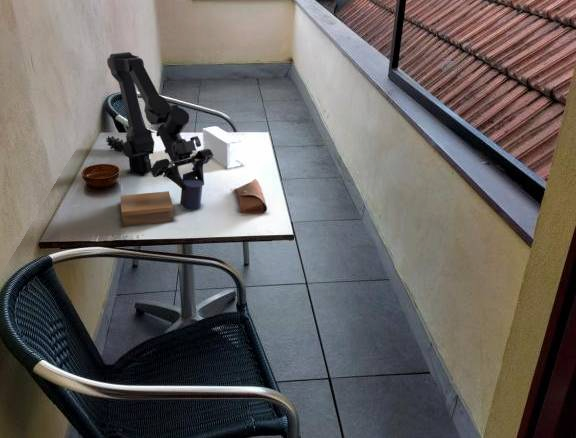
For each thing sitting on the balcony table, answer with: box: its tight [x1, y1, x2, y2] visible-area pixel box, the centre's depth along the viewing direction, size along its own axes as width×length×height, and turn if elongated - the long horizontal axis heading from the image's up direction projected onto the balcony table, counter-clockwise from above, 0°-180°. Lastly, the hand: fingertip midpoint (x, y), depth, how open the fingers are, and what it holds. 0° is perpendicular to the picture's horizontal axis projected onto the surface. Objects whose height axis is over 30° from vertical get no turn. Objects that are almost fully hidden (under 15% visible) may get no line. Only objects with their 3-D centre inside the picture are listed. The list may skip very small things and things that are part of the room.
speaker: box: [179, 170, 204, 211], centre depth 163 cm, size 8×6×10 cm
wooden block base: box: [119, 190, 175, 227], centre depth 160 cm, size 15×14×4 cm
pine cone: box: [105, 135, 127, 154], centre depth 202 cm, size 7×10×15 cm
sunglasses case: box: [234, 178, 268, 215], centre depth 169 cm, size 18×7×7 cm
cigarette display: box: [202, 125, 242, 170], centre depth 198 cm, size 20×6×9 cm, turn 34°
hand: (194, 187), depth 161 cm, fingers closed on speaker, 6 cm apart
